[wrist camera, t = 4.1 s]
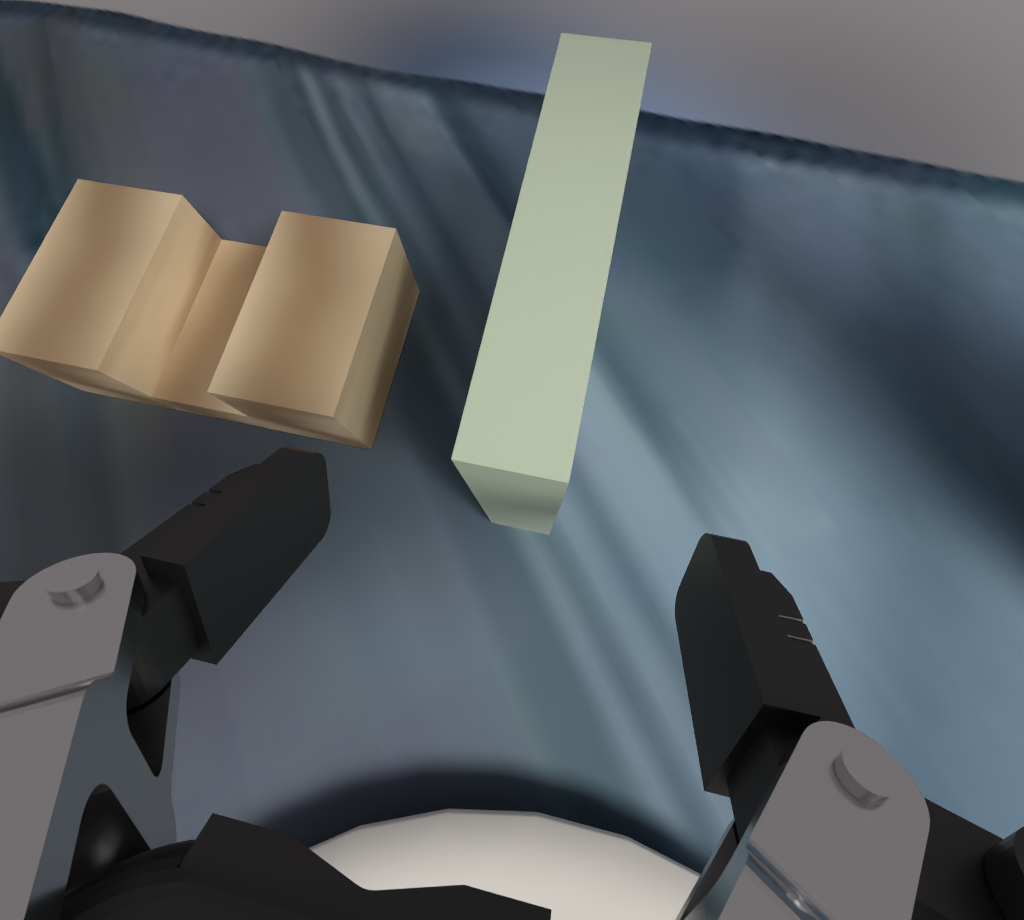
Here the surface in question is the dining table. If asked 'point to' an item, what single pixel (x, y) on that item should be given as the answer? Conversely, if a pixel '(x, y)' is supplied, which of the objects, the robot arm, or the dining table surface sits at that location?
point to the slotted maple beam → (216, 313)
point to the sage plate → (552, 286)
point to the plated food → (516, 862)
